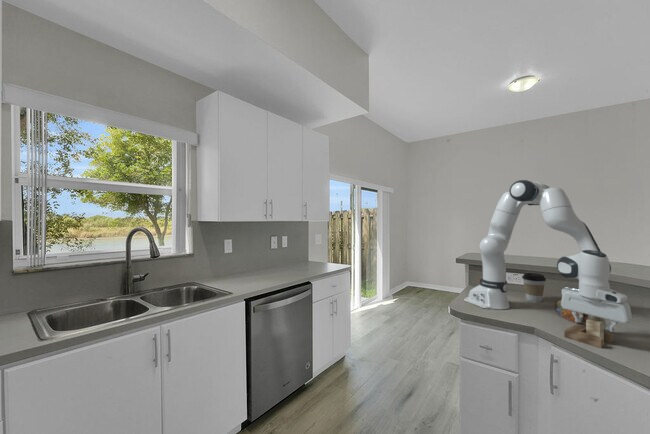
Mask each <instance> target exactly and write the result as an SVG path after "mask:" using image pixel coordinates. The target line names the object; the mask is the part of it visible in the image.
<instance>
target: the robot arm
mask: <svg viewBox="0 0 650 434" xmlns="http://www.w3.org/2000/svg"><path fill="white" fill-rule="evenodd" d="M525 205H528V206H539V209H540V212H541V215H542V219H543V221H544V223H545V224H546V225H547V227H549V228H551V229H553V230H555V231H558V232H561V233H564V234H567V235H569V236H570V237H572V238H573V239H574V240H575V241H576V243H577V245H578V247H579V249H580V252H578V253H575V254H570V255H567V256H566V255H565V256H562V257H560V258H559V259H557V260H558V261H557V264H556V269H557V272H558V273H559V274H560V276H562V277H564V278H566V279H577V280H578V288H577V287H569V286H565V287H563V288H561V295H562V296H561V299H560V300H561V306H562V308H564V309H568V310H572V314H573V316H574V317H575V322H577V323H576V324H582V323H581V322H582V321H581V320H582V318H579V316H578V315H577V313H578V312H580V313H584V314H588V316H591V315H592V316H596V317H600V318H604V319H605V320H610V325H606V330H607V331H609V332H610V333H613V332H614V327H615V326H616V325H617V324H618V323H621V324H629V323H631V321H632V320H633V317H632V308H631V306H630V304H629V303H628V302H627V301H628V296H627V295H626V294H624V293H622V292H618V291H616V290H614V289H611V287H610V283H609V278H610V276H611V275H610V274H611V271H612V266H611V263H610V260H609V257H608V256H607V254H605V252H602V250H601V249H600V247H599V245H598V243H597V242H596V240H595V238H594V236H593V234H592V232H591V230H590V229H589V227H588V226H587V224H586V223H585V222H583V221H582V220H581V219H580V218H579V217H578V215H576V212H575V211H574V209H573V206H572V203H571V201H570V199H569V197H568V195H567V194H566V192H565V191H564V189H562V188H561V187H550V186H548V185H546V184H542V183H541V182H538V181H531V180H528V179H521V180H517V181H515V182H513V183H512V184H511V186H510V187H509V191H506V192H504V193H503V194H502V195H501V197H500V198H499V200H498V202H497V204H496V207H495V209H494V211H493V214H492V217H491V220H490V224H489V228H488V232H487V235H486V236H485V237H483V238H482V239H481V241H480V243H479V250H480V257H481V263H482V265H481V266H482V278H480V279H478V280H477V281H478V283H479V285H476V286H475V287H473V288H471V289H470V290H469V293H468V296H467V297H464V301H465V302H467V303H470V304H472V305H475V306H478V307H480V308H484V309H491V310H492V309H493V310H509V309H510V308H511V306H510V303H509V300H508V293H507V291H508V281H507V265H506V259H505V251H506V250H507V249H508V246H509V243H510V240H511V238H512V234H513V232H514V231H513V230H514V228H515V225H516V223H517V220H518V217H519V215H520V213H521V210H522V208H523V207H524V206H525Z"/></svg>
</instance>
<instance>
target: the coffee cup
mask: <svg viewBox="0 0 650 434" xmlns="http://www.w3.org/2000/svg"><path fill="white" fill-rule="evenodd" d="M521 278H522V280H523V286H524V293H525V298H526V300H527V301H530V302H535V303H540V302H543V296H544V290H545V283H546V282H547V280H546V277H545V276H544V274H540V273H536V272H524V273H523V275H522V276H521Z"/></svg>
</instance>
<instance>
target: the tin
mask: <svg viewBox="0 0 650 434" xmlns="http://www.w3.org/2000/svg"><path fill="white" fill-rule="evenodd" d="M561 300H562V299H559V300H557V301H555V304H554V311H555V313H556V314H557V315H558V316H559V317H560V318H563V319H564V320H568V321H569V322H572V323H575V324H578V323H577V322H575V317H574V316H573V314H572V310H568V309H564V308H562V306H561ZM577 315H578V316H579V318H582V320H581V321H582V322H581V323H580V324H584V323H586V320H588V319H589V317H588V316H589V315H588V314H584V313H580V312H578V313H577Z"/></svg>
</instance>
